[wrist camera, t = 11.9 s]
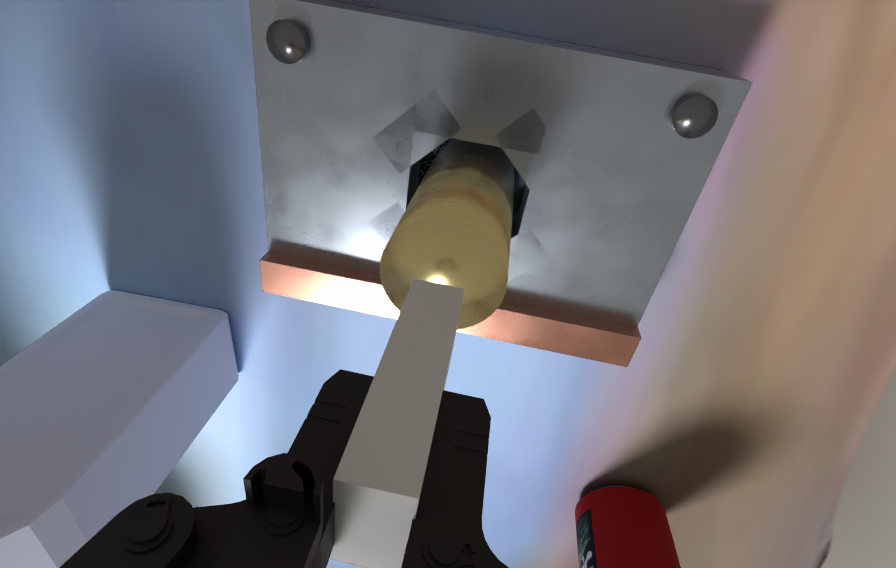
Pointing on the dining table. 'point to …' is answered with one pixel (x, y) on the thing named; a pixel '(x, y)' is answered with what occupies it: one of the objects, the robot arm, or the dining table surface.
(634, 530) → the beverage can
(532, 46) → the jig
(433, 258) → the brass cylinder
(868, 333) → the dining table surface
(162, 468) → the soap bottle
